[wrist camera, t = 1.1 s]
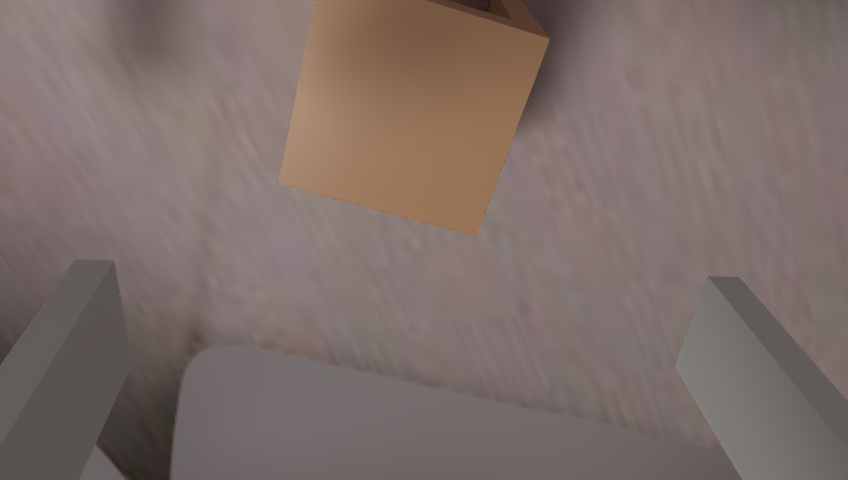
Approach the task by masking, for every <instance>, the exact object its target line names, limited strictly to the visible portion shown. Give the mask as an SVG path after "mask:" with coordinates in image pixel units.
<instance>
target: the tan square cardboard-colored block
mask: <svg viewBox="0 0 848 480" xmlns="http://www.w3.org/2000/svg"><path fill="white" fill-rule="evenodd" d="M549 41H550V38H549V36H548V35H547V34H546V32H545V31H544V30H543V28H542V27H541V26H540V24H539V23H538V22H537V20H536V19H535V18H534V16H533V15H532V14H531V12H530V11H529V10H528V8H527V7H526V6H525V4H524V3H523V2H522V0H491V2H490V5H489V8H488V11H487V12H485V11H481V10H478V9H475V8H472V7H469V6H465V5H462V4H459V3H456V2H452V1H449V0H315V1H314V6H313V11H312V16H311V21H310V26H309V31H308V37H307V42H306V47H305V52H304V57H303V62H302V67H301V72H300V77H299V82H298V87H297V92H296V97H295V102H294V107H293V112H292V117H291V122H290V127H289V132H288V137H287V142H286V147H285V152H284V157H283V162H282V167H281V172H280V177H279V182H278V184H281V185H285V186H289V187H293V188H296V189H300V190H304V191H308V192H311V193H315V194H319V195H323V196H326V197H330V198H334V199H338V200H341V201H345V202H349V203H353V204H356V205H360V206H364V207H368V208H371V209H375V210H379V211H383V212H387V213H390V214H394V215H398V216H402V217H405V218H409V219H413V220H417V221H420V222H424V223H428V224H432V225H435V226H439V227H443V228H447V229H450V230H454V231H458V232H462V233H465V234H469V235H473V236H477V233H478V230H479V228H480V225H481V222H482V220H483V217H484V214H485V212H486V209H487V206H488V204H489V201H490V198H491V196H492V193H493V190H494V188H495V185H496V182H497V180H498V177H499V174H500V172H501V169H502V166H503V164H504V161H505V158H506V156H507V153H508V150H509V148H510V145H511V142H512V140H513V137H514V134H515V132H516V129H517V126H518V124H519V121H520V118H521V116H522V113H523V110H524V108H525V105H526V102H527V100H528V97H529V94H530V92H531V89H532V86H533V84H534V81H535V78H536V76H537V73H538V70H539V68H540V65H541V62H542V60H543V57H544V54H545V52H546V49H547V46H548V44H549Z"/></svg>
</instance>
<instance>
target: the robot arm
mask: <svg viewBox="0 0 848 480" xmlns="http://www.w3.org/2000/svg"><path fill="white" fill-rule="evenodd" d="M132 362H133V359H132V354H131V349H130V344H129V338H128V333H127V328H126V322H125V317H124V312H123V307H122V301H121V296H120V291H119V285H118V280H117V275H116V269H115V264H114V261H109V260H75V261H74V262H73V264H72V265H71V266H70V268H69V269H68V271H67V272H66V274H65V275H64V276H63V278H62V279H61V281H60V282H59V283H58V285H57V286H56V288H55V289H54V290H53V292H52V293H51V295H50V296H49V297H48V299H47V300H46V302H45V303H44V305H43V306H42V307H41V309H40V310H39V312H38V313H37V314H36V316H35V317H34V319H33V320H32V321H31V323H30V324H29V326H28V327H27V329H26V330H25V331H24V333H23V334H22V336H21V337H20V338H19V340H18V341H17V343H16V344H15V345H14V347H13V348H12V350H11V351H10V352H9V354H8V355H7V357H6V358H5V360H4V361H3V362H2V364H1V365H0V480H79V479H80V476H81V474H82V472H83V470H84V467H85V465H86V463H87V461H88V459H89V457H90V454H91V452H92V450H93V448H94V446H95V443H96V441H97V439H98V437H99V435H100V432H101V430H102V428H103V426H104V424H105V421H106V419H107V417H108V415H109V413H110V410H111V408H112V406H113V404H114V402H115V399H116V397H117V395H118V393H119V391H120V389H121V386H122V384H123V382H124V380H125V378H126V375H127V373H128V371H129V369H130V367H131V364H132ZM675 368H676V370H677V372H678V373H679V375H680V377H681V378H682V380H683V382H684V383H685V385H686V387H687V388H688V390H689V392H690V393H691V395H692V397H693V398H694V400H695V402H696V403H697V405H698V407H699V408H700V410H701V412H702V413H703V415H704V417H705V418H706V420H707V422H708V423H709V425H710V427H711V428H712V430H713V432H714V433H715V435H716V437H717V438H718V440H719V442H720V443H721V445H722V447H723V448H724V450H725V452H726V453H727V455H728V457H729V458H730V460H731V462H732V463H733V465H734V467H735V468H736V470H737V472H738V473H739V475H740V477H741V478H742V480H848V401H847V400H846V399H845V398H844V396H843V395H842V394H841V393H840V392H839V391H838V390H837V388H836V387H835V386H834V385H833V384H832V383H831V382H830V380H829V379H828V378H827V377H826V376H825V375H824V374H823V372H822V371H821V370H820V369H819V368H818V367H817V366H816V364H815V363H814V362H813V361H812V360H811V359H810V358H809V356H808V355H807V354H806V353H805V352H804V351H803V350H802V348H801V347H800V346H799V345H798V344H797V343H796V342H795V340H794V339H793V338H792V337H791V336H790V335H789V334H788V332H787V331H786V330H785V329H784V328H783V327H782V326H781V324H780V323H779V322H778V321H777V320H776V319H775V318H774V316H773V315H772V314H771V313H770V312H769V311H768V310H767V308H766V307H765V306H764V305H763V304H762V303H761V302H760V300H759V299H758V298H757V297H756V296H755V295H754V294H753V292H752V291H751V290H750V289H749V288H748V287H747V286H746V284H745V283H744V282H743V281H742V280H741V279H740V278H739V277H715V276H708V277H707V280H706V283H705V285H704V288H703V291H702V294H701V296H700V299H699V302H698V305H697V307H696V310H695V313H694V316H693V318H692V321H691V324H690V327H689V329H688V332H687V335H686V338H685V341H684V343H683V346H682V349H681V352H680V354H679V357H678V360H677V363H676V365H675Z"/></svg>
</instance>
